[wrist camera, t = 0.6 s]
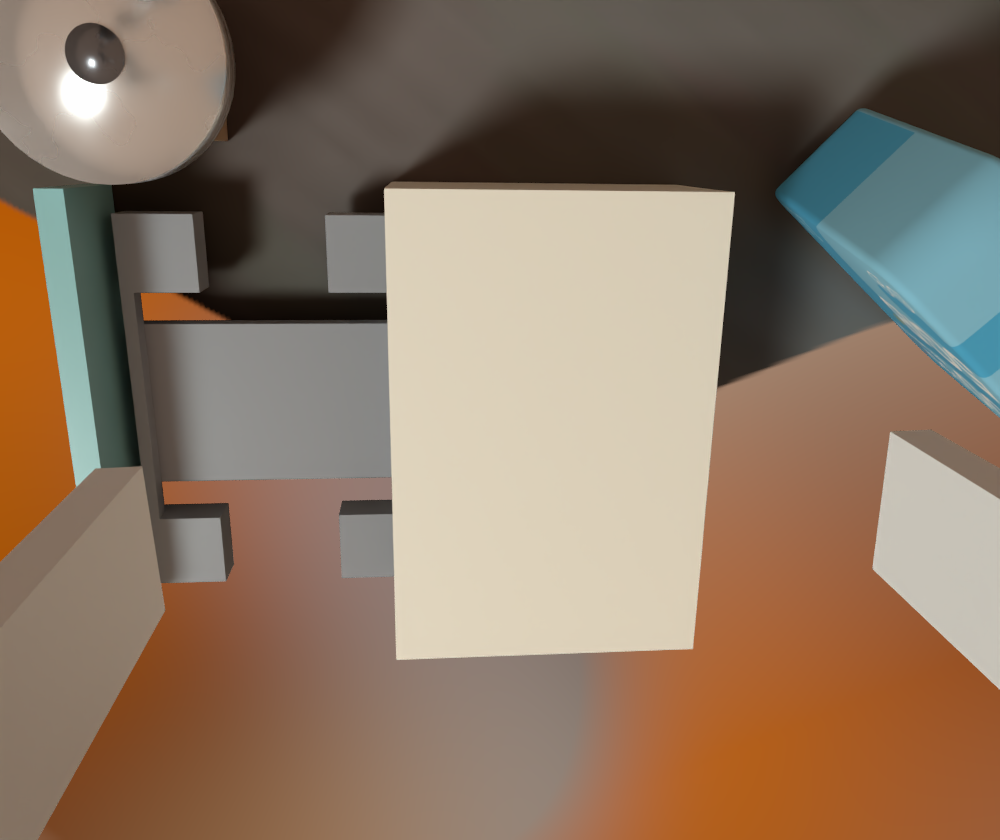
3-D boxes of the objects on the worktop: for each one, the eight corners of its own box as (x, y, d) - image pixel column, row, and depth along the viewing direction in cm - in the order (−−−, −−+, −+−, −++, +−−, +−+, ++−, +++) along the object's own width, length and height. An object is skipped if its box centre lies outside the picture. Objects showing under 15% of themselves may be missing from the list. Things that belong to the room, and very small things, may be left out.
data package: (889, 280, 25) (1094, 499, 29) (1022, 162, 24) (1219, 411, 28) (762, 185, 36) (926, 355, 40) (848, 99, 34) (1010, 286, 38)
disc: (-33, -80, 27) (-62, -95, 25) (225, -71, 28) (213, -85, 26) (7, 181, 29) (-17, 183, 28) (244, 184, 30) (233, 186, 28)
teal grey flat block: (135, 580, 39) (97, 637, 35) (85, 183, 34) (32, 188, 29) (411, 573, 40) (409, 626, 36) (403, 187, 35) (400, 192, 30)
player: (401, 572, 41) (396, 659, 34) (391, 181, 35) (383, 188, 28) (647, 566, 42) (692, 648, 35) (675, 184, 36) (735, 192, 29)
